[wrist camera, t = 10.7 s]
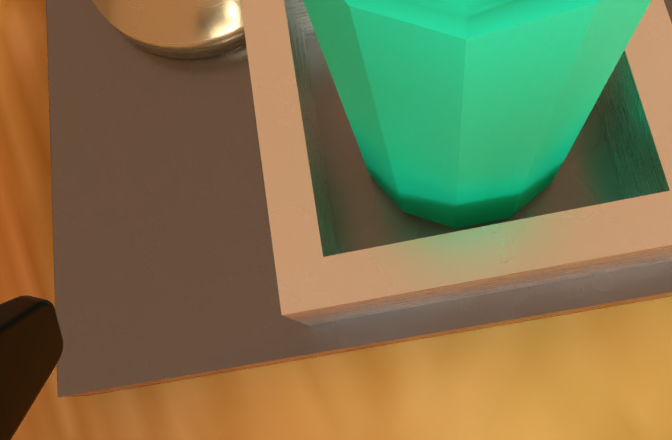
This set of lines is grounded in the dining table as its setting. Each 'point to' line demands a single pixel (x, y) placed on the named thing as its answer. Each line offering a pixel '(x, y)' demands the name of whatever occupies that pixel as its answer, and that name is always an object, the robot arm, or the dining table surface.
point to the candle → (469, 93)
